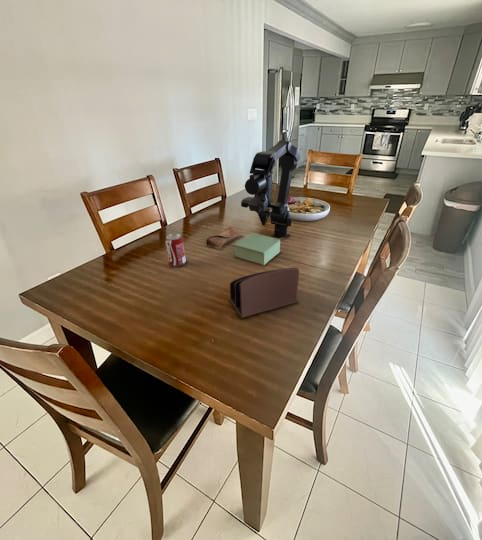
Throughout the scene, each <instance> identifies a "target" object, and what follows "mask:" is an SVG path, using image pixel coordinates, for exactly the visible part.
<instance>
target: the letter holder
mask: <svg viewBox="0 0 482 540" xmlns="http://www.w3.org/2000/svg"><path fill="white" fill-rule="evenodd" d="M299 280H300V270H299V268H298V267H285V268H279V269H270V270H265V271H260V272H255V273H251V274H248V275H245V276H241V277H239V278H237V279H234V280H232V281H231V282H230V283H229V297H230V298H229V300H230V302H231V305H233V307H234V309H235V310H236V312H237V313H238V315H239V316H240V318H241V319H243V318H247V317H251V316H254V315H257V314H261V313H265V312H268V311H272V310H275V309H279V308H282V307H286V306H289V305H292V304H297V302H298V290H299Z"/></svg>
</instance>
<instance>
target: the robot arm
mask: <svg viewBox="0 0 482 540" xmlns="http://www.w3.org/2000/svg"><path fill="white" fill-rule="evenodd" d="M300 158H301V153H300V151H299V148H297V147H296V146H295V145H293V143H292V142H291V141H289V140H278V141H277V143H276V144H274V145H273V146H272V147H271V148H268V150H264V151H263V150H262V151H259V152H256V153H255V154H254V157H253V160H252V162H251V166H250V171H249V178H248V179H246V181H245V183H244V189H245V191H246V193H247V194H248V195H250V196H247V197H245V198H243V199H241V201H240V207H241V208H246V209H247V208H248V209H249V211H250V212H255V213H256V214H257V215H258V218H259V220H260V223H261V225H262V226H264V227H265V226H266V225H267V222H268V219H269V220H270V224H271V225H274V231H273V232H274V233H273V238H276V239H280V238H288V237H289V236H290V233H288V228H289V227H292V222H293V220H292V219H291V217H290V215H289V212H290V210H289V208H288V205H287V202H288V197H290V188H291V182H292V176H293V172H294V170H296V168H297V167H298V163H299V161H300V160H301V159H300ZM278 160H279V166H280V169H281V174H280V180H279V186H278V193H277V200H276V203H275V204H274V203H273V202H274V199H273V198H272V193H273V192H274V189H273V187H272V186H273V185H272V184H273V174H274V169H275V167H276V166H277V161H278ZM252 196H253V197H252Z"/></svg>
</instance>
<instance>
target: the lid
mask: <svg viewBox="0 0 482 540" xmlns="http://www.w3.org/2000/svg"><path fill="white" fill-rule="evenodd" d="M278 242H280V243H281V239H280V238H277V237H271V236H268V235H265V234H259V233H255V232H251V233H250V234H248V235H247V236H245V237H243V238H241V239H240V240H238V241H237V242H236V243H234V247H235V246H237V247H240V248H244V249H247V250H251V251H254V252H258V253H261V254H264V253H266V252H267V251H268V250H269V249H271V248H272V247H273V246H275V245H276V244H277V243H278Z"/></svg>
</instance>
